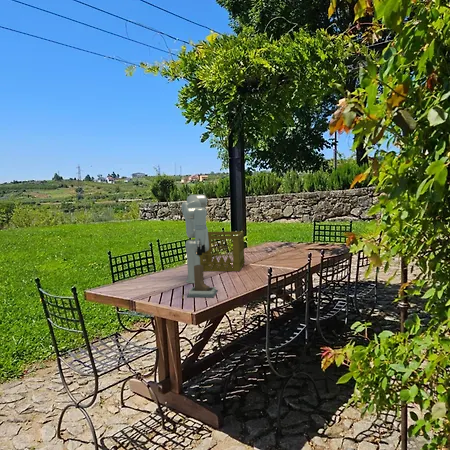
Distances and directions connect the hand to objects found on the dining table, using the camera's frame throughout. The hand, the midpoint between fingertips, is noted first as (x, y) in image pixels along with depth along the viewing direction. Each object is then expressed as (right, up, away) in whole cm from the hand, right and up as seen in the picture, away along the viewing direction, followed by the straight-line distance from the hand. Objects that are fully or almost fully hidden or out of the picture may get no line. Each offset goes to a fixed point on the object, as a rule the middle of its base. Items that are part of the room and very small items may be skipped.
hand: (201, 253), depth 254 cm
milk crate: (+13, -19, +91) cm, 94 cm away
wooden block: (+1, -26, +2) cm, 26 cm away
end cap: (+1, -27, +2) cm, 27 cm away
